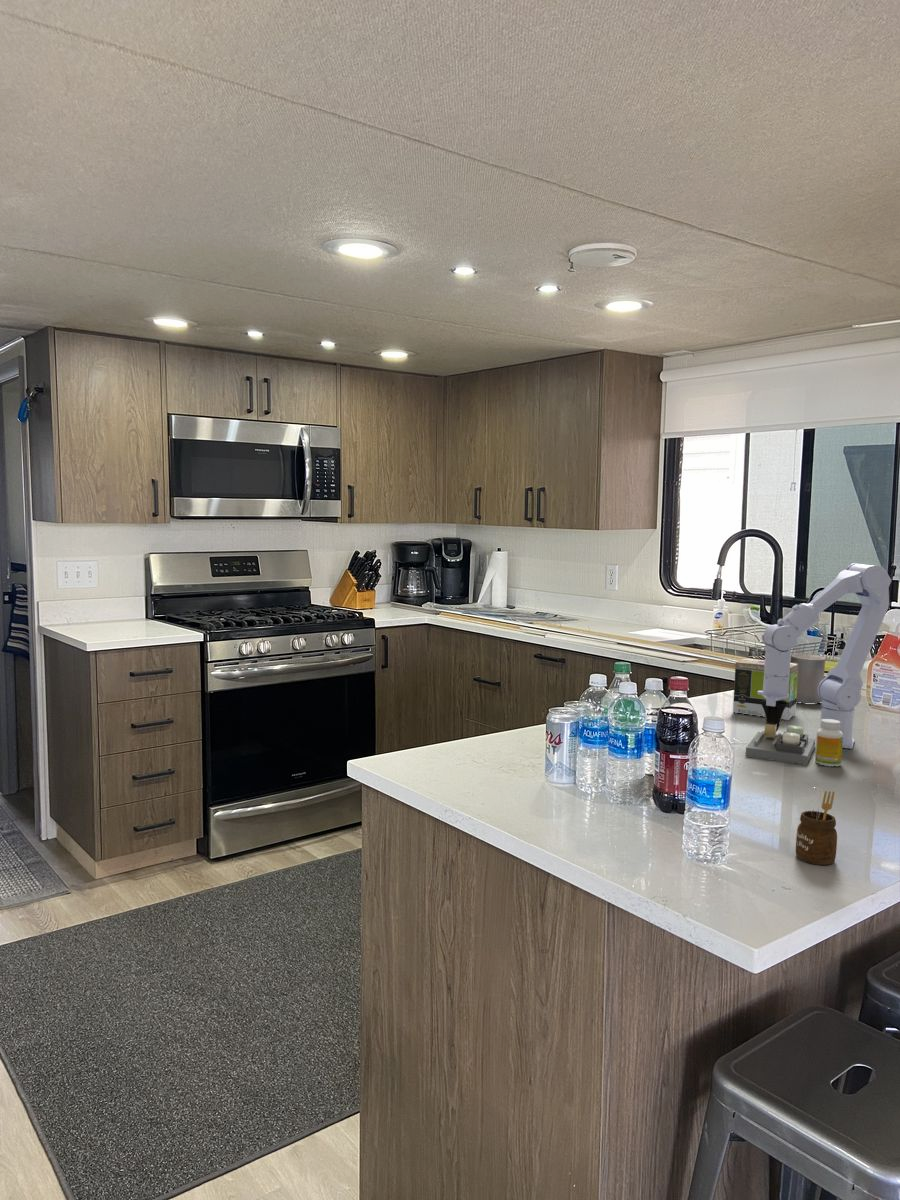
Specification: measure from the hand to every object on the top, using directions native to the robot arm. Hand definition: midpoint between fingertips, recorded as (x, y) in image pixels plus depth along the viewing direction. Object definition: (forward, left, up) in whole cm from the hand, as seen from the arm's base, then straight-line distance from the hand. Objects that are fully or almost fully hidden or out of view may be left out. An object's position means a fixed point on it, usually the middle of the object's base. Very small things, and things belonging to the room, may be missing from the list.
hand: (772, 730), depth 216 cm
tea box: (-33, -6, -3) cm, 34 cm away
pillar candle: (-60, +2, -3) cm, 60 cm away
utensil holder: (+76, +17, -3) cm, 78 cm away
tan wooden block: (+5, 0, 0) cm, 5 cm away
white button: (+13, +6, 0) cm, 14 cm away
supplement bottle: (+13, +14, -3) cm, 19 cm away
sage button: (+5, +6, 0) cm, 7 cm away
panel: (+8, +3, -3) cm, 9 cm away
